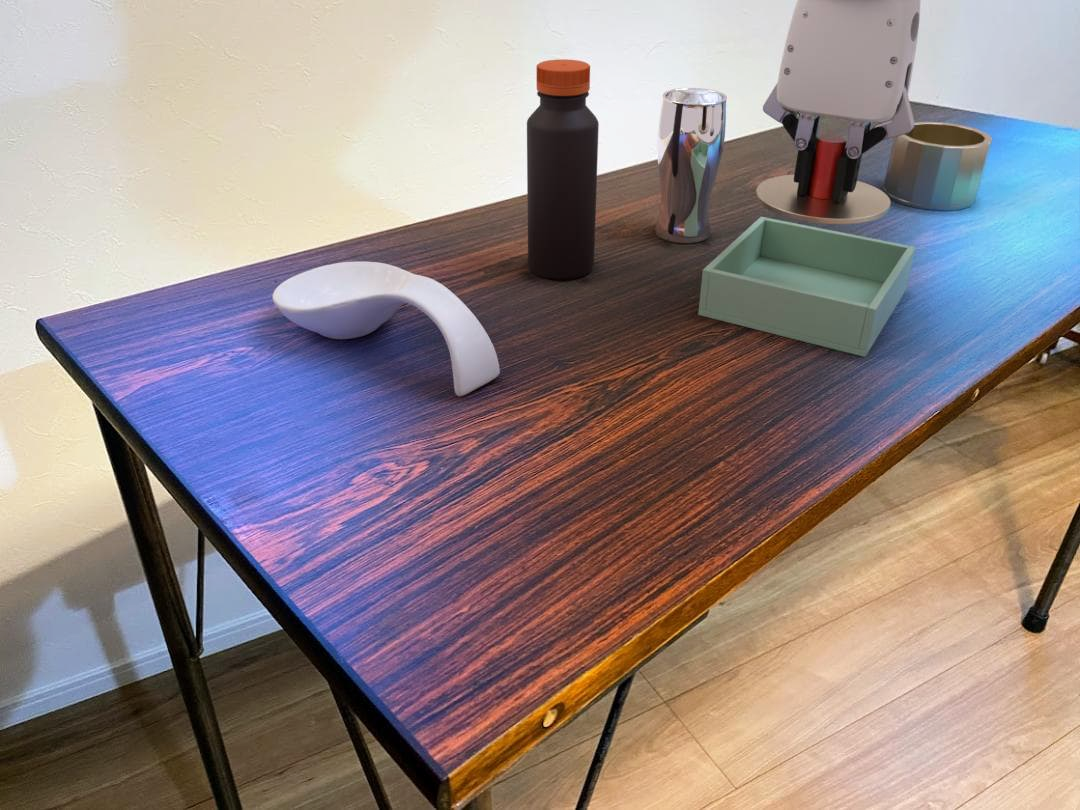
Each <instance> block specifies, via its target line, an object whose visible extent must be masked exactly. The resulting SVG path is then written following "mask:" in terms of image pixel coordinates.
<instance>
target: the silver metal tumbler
mask: <svg viewBox="0 0 1080 810" xmlns="http://www.w3.org/2000/svg"><path fill="white" fill-rule="evenodd" d="M727 99H728V96H727V95H726V94H725V93H724V92H721V91H718V90H714V89H709V88H702V87H681V88H680V87H679V88H673V89H669V90H666V91H664V92H663V93H662V101H661V107H660V112H659V120H658V128H657V129H658V130H657V147H656V151H657V165H658V175H659V183H660V184H659V185H660V206H659V207H660V208H659V212H658V216H657V220H656V224H655V228H654V231H655V234H656V236H657V237H658V238H660V240H661V239H662V240H664V241H666V242H669V243H675V244H697V243H701V242H704V241H705V240H707V239H708V238H709V237H710V235H711V224H710V223H711V222H710V203H711V197H712V193H713V190H714V189H713V188H714V185H715V182H716V178H717V175H718V172H719V169H720V165H721V160H722V157H723V151H724V146H725V145H724V144H725V140H726V139H725V138H726V126H727V125H726V124H727Z"/></svg>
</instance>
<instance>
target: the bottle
mask: <svg viewBox="0 0 1080 810" xmlns="http://www.w3.org/2000/svg"><path fill="white" fill-rule="evenodd" d="M590 88H591V65H590V64H589V63H588V62H585V61H582V60H577V59H568V58H567V59H564V58H563V59H549V60H544V61H540V62H539V63H538V64H536V91H537V92H536V94H537V97H538V98H539V106H538V107H537V108H536V109H535V110H534V111H532V113H531V115H530V116H529V117H528V118H527V120H526V185H527V188H526V189H527V193H526V194H527V197H526V198H527V199H526V200H527V263H528V268H529V270H530V271H531V272H532V273H533V274H535V275H537V276H539V277H540V278H544V279H548V280H557V281H567V280H573V279H574V280H575V279H579V278H581V277H584V276H586V275H587V274H589V273H590V272H591V271H592V270H593V268H594V265H595V248H596V247H595V246H596V245H595V243H596V220H597V219H596V218H597V217H596V215H597V214H596V213H597V186H598V185H597V183H598V155H599V153H598V152H599V129H600V127H599V126H600V125H599V120H598V118H597V116H596V115H595V114H594V113H593V111H592V110H590V108H589V107H588V106H587V98H588V97H589V96H590V92H589V91H590V90H591V89H590Z"/></svg>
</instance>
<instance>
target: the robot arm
mask: <svg viewBox="0 0 1080 810" xmlns="http://www.w3.org/2000/svg"><path fill="white" fill-rule="evenodd" d="M920 17H921V0H797V1H796V3H795V6H794V10H793V13H792V17H791V20H790V24H789V28H788V32H787V36H786V40H785V43H784V48H783V53H782V57H781V62H780V66H779V71H778V72H779V73H778V78H777V83H776V84H775V86H774V88H773V89H772V91H771V93H769V95H768V97H767V99H766V100H765V102H764V104H763V106H762V111H763V113H765V114H766V115H767V116H769V117H770V118H772V119H773V120H775V121H776V122H778V123H780V124H781V125H782V127H783V128H784V129H785V131H786V132H787V134H788V135H789V136H790V138H791V140H792V141H793V142H794V143H793V145H794V148H795V149H796V150H797V155H796V162H795V167H794V168H795V169H794V182H796V183H798V189H797V195H798V196H804V195H807V194H808V193H809V188H810V183H811V177H812V171H813V165H814V159H815V153H816V147H817V141H818V138H819V137H818V136H819V130H820V126H821V121H822V117H826V118H834V119H839V120H847V121H850V122H849V129H848V137H847V142H846V148H845V150H844V155H842V156H841V157H840V158H839V160H838V165H837V170H836V176H835V181H834V187H833V192H832V198H831V200H833V202H835V203H840V202H841V201H842V200H843V199H844V198H845V196H846V195H847V194H848V192H853V191H854V189H855V187H856V183H857V181H858V177H859V173H860V167H861V163H862V157H863V155H864V154H865V153H866V152H868V151H869V150H871V149H872V148H874V146H876V145H878V144H880V143H881V142H883V141H885V140H890V139H894V137H897V136H901V135H904V134H907V133H909V132H910V131H911V130H912V129H913V128H914V125H915V123H914V122H915V119H914V114H913V110H912V106H911V102H910V98H909V92H910V87H911V82H912V77H913V70H914V64H915V59H916V51H917V45H918V44H917V43H918V36H919V27H920ZM891 119H892V120H891ZM873 124H876V125H875V126H874V127H873Z"/></svg>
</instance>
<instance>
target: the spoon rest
mask: <svg viewBox="0 0 1080 810" xmlns="http://www.w3.org/2000/svg"><path fill="white" fill-rule="evenodd" d="M271 297H272V302H273V304H274V306H275V307H276V309H277V310H278V311H279V312H280V313H281V314H282V315H283V316H284V317H285V318H286V319H288V321H290V322H292V323H294V324H295V325H297V326H299V327H301V328H303V329H305V330H308V331H311V332H314V333H317V334H318V335H320V336H322V337H326V338H327V339H328V338H329V339H333V340H348V339H356V338H361V337H363V336H366V335H369V334H371V333H373V332H374V331H376V330H377V329H378V328H380V327H381V325H382V324H384V323H385V322H387V321H388V320H389V319H390V318H391V317H392V316H394V315H395V314H396V313H397V311H399V309H400V307H402V305H403V304H404V303H405V304H408V305H411V306H413V307H415V308H416V309H418V310H420V311H421V312H422V313H423V314H425V315H426V316H427V317H428V318H429V319H430V320H431V321H432V322H433V323H434V324H435V325H436V326H437V328H438V329H439V331H440V332H441V334H442V336H443V339H444V340H445V343H446V346H447V348H448V352H449V354H450V355H449V356H450V361H451V369H452V378H453V389H454V393H455V395H456V396H457V397H464V396H465V395H467V394H469V393H471V392H473V391H475V390H477V389H479V388H480V387H483V386H484V385H486V384H489V383H490V382H491V381H493V380H494V379H496V378H497V377H498V376H499V375H500V374H501V373H500V372H501V370H500V363H499V360H498V359H499V358H498V355H497V352H496V349H495V346H494V344H493V342H492V340H491V338H490V337H489V335H488V333H487V331H486V330H485V328H484V326H483V325H482V323H481V322H480V321H479V320H478V318H477V317H476V315H475V314H474V313H473V311H471V310H470V308H468V306H467V305H466V304H465V303H464V302H463V301H462V299H460V298H459V296H457V295H455V293H453V291H451V290H450V289H449V288H447V287H446V286H445V285H443V284H442V283H440V282H439V281H437V280H435V279H433V278H430V277H427V276H423V275H420V274H416V273H412V272H410V271H408V270H405V269H402V268H400V267H398V266H396V265H392V264H388V263H384V262H376V261H343V262H337V263H331V264H326V265H321V266H318V267H315V268H311V269H309V270H305V271H303V272H301V273H298V274H296V275H293V276H291V277H289V278H288V279H286V280H285V281H283V282H281V283H280V284H279V285H278V286H277V287H275V289H274V291H273V292H272V296H271Z"/></svg>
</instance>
